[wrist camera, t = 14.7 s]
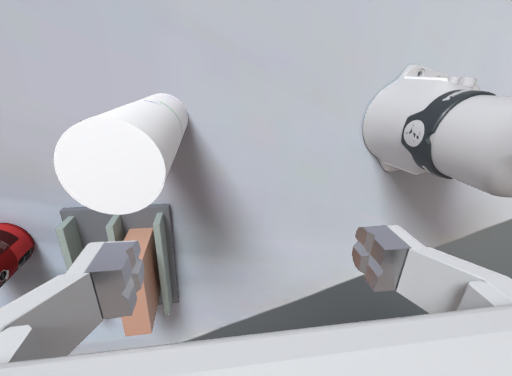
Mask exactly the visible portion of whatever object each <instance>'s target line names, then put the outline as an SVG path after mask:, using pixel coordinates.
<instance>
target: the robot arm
mask: <svg viewBox="0 0 512 376" xmlns="http://www.w3.org/2000/svg"><path fill="white" fill-rule="evenodd" d="M418 72H419V76H418ZM476 80H477V79H474V78H468V77H461V78H458V77H454V76H451V75H448V74H445V73H442V72H439V71H435V70H432V69H429V68H426V67H423V66H420V65H415V64H412V65H409V66H408V67H407V68H406V69H405V70H404V71H403V73H402V74H401V75H400V76H399V78H398V79H397V80H395V81H394V82H393V83H391V84H389V85H388V86H386V87H385V88H384V89H383V90H381V91H380V92H379V93H378V94H377V95H376V97H375V98H374V99H373V101H372V102H371V104H370V106H369V108H368V110H367V112H366V115H365V118H364V123H363V136H364V141H365V143H366V146H367V147H368V149H369V150H370V151H371V153H372V154H374V155H375V156H376V157H377V158H378V159H379V161H380V163H381V166H382V168H383V169H384V170H385V171H388V172H392V171H396V170H404V171H407V172H409V173H412V174H415V175H419V174H420V173H426V172H429V173H431V174H433V175H436V176H440V177H443V178H447V179H455V180H458V181H460V182H463V183H465V184H467V185H470V186H472V187H474V188H477V189H479V190H482V191H484V192H486V193H489V194H491V195H494V196H500V197H512V96H496V95H495V94H493V93H490V92H485V91H482V90H480V88H479V85H477V84H476V82H477V81H476ZM355 237H356V239H357V240H358V242H357V243H356V244H355V245H354V246H353V251H352V256H353V261H354V264H355V266H356V267H357V269H358V270H359V271H361V272H363V273H364V274H365V280H366V281H367V282H368V284H369V285H370V286H371V288H372V289H373V290H374V292H377V291H391V290H396V291H397V292H398V293H400V294H401V295H403V296H404V297H406V298H407V299H409V300H410V301H412V302H413V303H415V304H416V305H418V306H419V307H421V308H422V309H424V310H425V311H427V312H428V313H430V314H425V315H417V316H408V317H400V318H391V319H381V320H373V321H364V322H355V323H347V324H337V325H329V326H320V327H312V328H303V329H296V330H286V331H278V332H269V333H260V334H252V335H244V336H236V337H227V338H218V339H210V340H200V341H192V342H183V343H174V344H166V345H157V346H149V347H140V348H131V349H123V350H114V351H105V352H97V353H88V354H79V355H71V356H67V355H68V354H70V353H71V352H72V351H73V350H74V349H75V348H76V347H77V346H78V345H79V344H80V343H81V342H82V341H83V340H84V339H85V338H86V337H87V336H88V335H89V334H90V333H91V332H92V331H93V330H94V329H95V328H96V327H97V326H98V325H99V324H100V323H101V322H102V321H103V319H109V318H117V317H125V316H132V313H133V310H134V307H135V305H136V302H137V294H136V292H138V291H139V290H140V289H141V287H142V284H143V278H144V266H143V261H142V260H141V259H140V258H139V254H140V252H141V249H140V244H139V242H138V241H137V240H134V241H109V242H91V243H89V244H87V245H86V247H85V248H84V249H83V251H82V252H81V253H80V255H79V256H78V257H77V259H76V260H75V261H74V263H73V264H72V265H71V267H70V268H69V269H68V271H67V272H66V273H65V274H64V275H58V276H56V277H55V278H53V279H51V280H49V281H48V282H46V283H44V284H42V285H41V286H39V287H37V288H35V289H33V290H32V291H30V292H28V293H26V294H25V295H23V296H21V297H19V298H18V299H16V300H14V301H12V302H10V303H9V304H7V305H5V306H3V307H2V308H0V376H512V279H511V278H509V277H507V276H504V275H502V274H499V273H496V272H494V271H491V270H488V269H486V268H483V267H480V266H478V265H475V264H473V263H470V262H468V261H465V260H462V259H460V258H457V257H454V256H452V255H449V254H446V253H444V252H441V251H438V250H436V249H433V248H431V247H425V246H424V245H422V244H421V243H420V242H419V241H418V240H416V239H415V238H414V237H413V236H411V235H410V234H409V233H408V232H406V231H405V230H404V229H403V228H401V227H400V226H399V225H396V224H392V225H383V226H371V227H359V228H358V230H357V231H356V236H355Z"/></svg>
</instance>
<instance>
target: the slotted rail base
mask: <svg viewBox="0 0 512 376" xmlns="http://www.w3.org/2000/svg"><path fill="white" fill-rule="evenodd" d="M60 214H61V218H62V223H61V224H60V225H59V226H58V227H57V228H56V229H55V230H56V234H57V237H58V240H59V244H60V247H61V250H62V254H63V257H64V261H65V264H66V267H67V271H68V269H69V268H70V267H71V265H72V264H73V263H74V261H75V260H76V259H77V257H78V256H79V255H80V253H81V252H82V251H83V249H84V248H85V247H86V245H87V244H89V243H91V242H109V241H124V239H125V237H126V235H127V233H128V231H129V229H136V228H153V230H154V238H155V245H156V253H157V261H158V269H159V277H160V284H161V292H160V297H159V302H158V304H163V308H164V315H165V316H169V315H170V312H171V306H172V303H176V302H178V298H179V297H178V287H177V277H176V266H175V256H174V246H173V236H172V225H171V215H170V205H169V204H155V205H148V206H147V207H145V208H143V209H141V210H139V211H137V212H133V213H130V214H122V215H114V214H106V213H101V212H98V211H95V210H92V209H90V208H88V207H76V208H63V209H62V210H61V211H60Z"/></svg>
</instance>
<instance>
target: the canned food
mask: <svg viewBox="0 0 512 376" xmlns="http://www.w3.org/2000/svg"><path fill="white" fill-rule="evenodd" d="M33 249H34V242H33V239H32V238H31V236H30V235H29V234H28V232H26V231H25V230H24V229H22V228H21V227H19V226H16V225H13V224H9V223H0V287H1V286H2V285H3V284H4V283H5V282H6V281H7V280H8V279H9V278H10V277H11V276H12V275H13V274H14V273H15V272H16V271H17V270H18V269H19V268H20V267H21V266H22V265H23V264H24V263H25V261H26V260H27V259H28V258H29V257H30V256H31V254H32V252H33Z"/></svg>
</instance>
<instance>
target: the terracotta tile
mask: <svg viewBox="0 0 512 376" xmlns="http://www.w3.org/2000/svg"><path fill="white" fill-rule="evenodd" d="M134 240H137V241H138V242H139V244H140V249H141V252H140V254H139V258H140V259H141V260H142V261H143V266H144V278H143V284H142V287H141V289H140V290H139V291H138V292H136V294H137V302H136V305H135V307H134V310H133V313H132V316H125V317H122V322H123V327H124V331H125V336H133V335H142V334H150V333H152V330H153V325H154V320H155V316H156V311H157V306H158V302H159V297H160V292H161V284H160V277H159V269H158V261H157V253H156V245H155V238H154V230H153V228H136V229H129V231H128V233H127V235H126V237H125V239H124V241H134Z"/></svg>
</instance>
